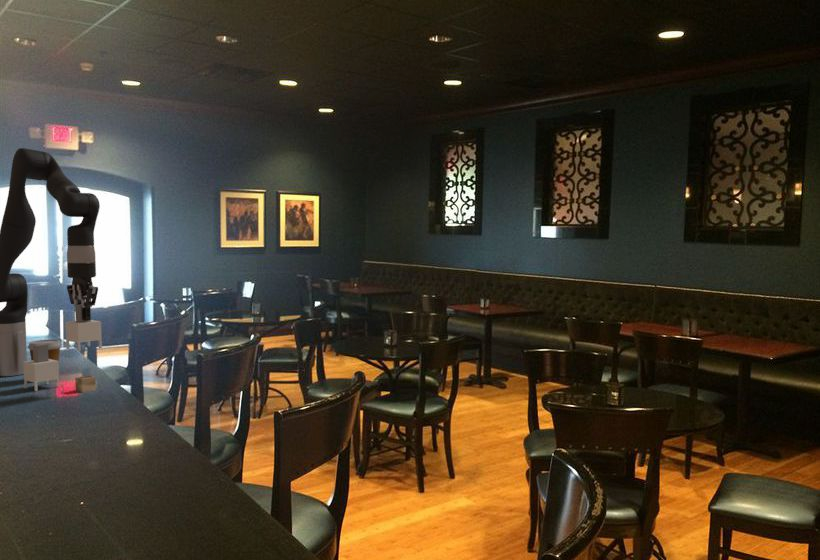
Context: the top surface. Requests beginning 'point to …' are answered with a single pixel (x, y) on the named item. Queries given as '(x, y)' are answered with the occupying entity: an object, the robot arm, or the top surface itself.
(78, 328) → the cover
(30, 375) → the cover
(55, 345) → the disposable coffee cup
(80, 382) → the letter cube
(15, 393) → the top surface
